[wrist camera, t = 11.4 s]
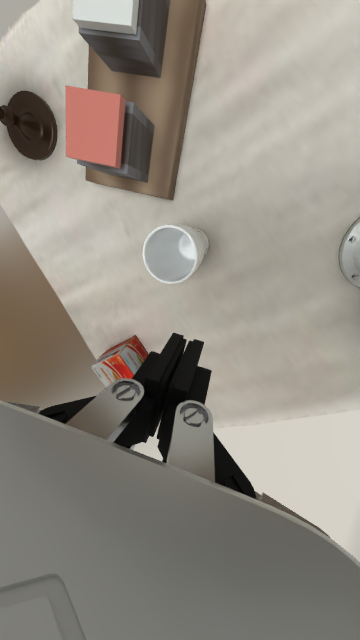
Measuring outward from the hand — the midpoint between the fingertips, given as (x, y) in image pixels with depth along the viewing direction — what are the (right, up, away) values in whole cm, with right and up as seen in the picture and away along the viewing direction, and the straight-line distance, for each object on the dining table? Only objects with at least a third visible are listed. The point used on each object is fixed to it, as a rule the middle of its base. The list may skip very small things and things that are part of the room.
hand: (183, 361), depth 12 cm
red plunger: (-8, +27, +21) cm, 35 cm away
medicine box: (-9, -9, +41) cm, 43 cm away
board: (-6, +34, +22) cm, 41 cm away
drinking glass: (+2, +15, +28) cm, 32 cm away
